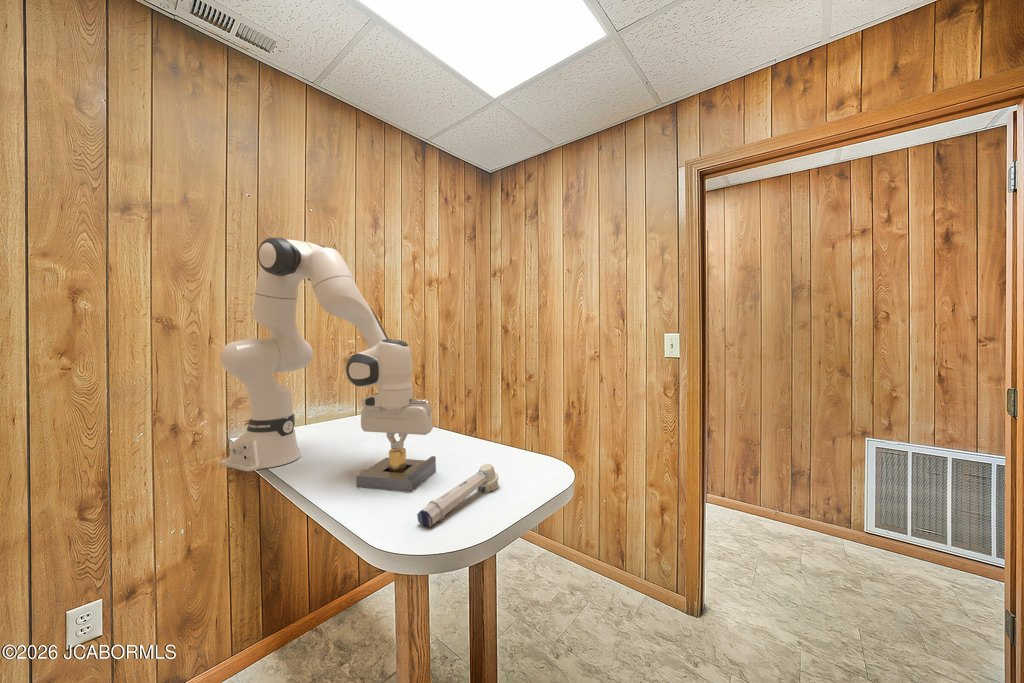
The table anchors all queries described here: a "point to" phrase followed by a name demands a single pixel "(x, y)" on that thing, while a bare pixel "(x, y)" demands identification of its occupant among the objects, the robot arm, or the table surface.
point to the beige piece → (458, 495)
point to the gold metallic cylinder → (397, 460)
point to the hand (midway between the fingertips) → (397, 448)
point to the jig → (397, 475)
